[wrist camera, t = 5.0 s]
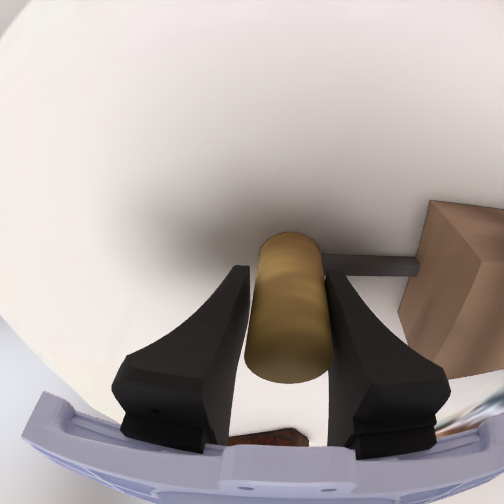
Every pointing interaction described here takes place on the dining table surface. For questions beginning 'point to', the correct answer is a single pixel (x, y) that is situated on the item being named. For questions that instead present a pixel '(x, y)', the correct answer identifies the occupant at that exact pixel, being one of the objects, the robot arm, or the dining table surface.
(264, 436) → the brick
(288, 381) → the wooden mallet
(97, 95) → the dining table surface
